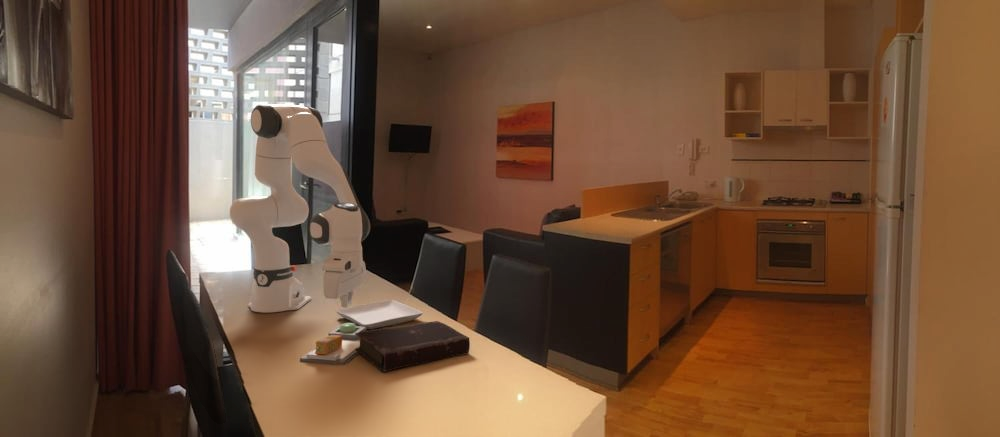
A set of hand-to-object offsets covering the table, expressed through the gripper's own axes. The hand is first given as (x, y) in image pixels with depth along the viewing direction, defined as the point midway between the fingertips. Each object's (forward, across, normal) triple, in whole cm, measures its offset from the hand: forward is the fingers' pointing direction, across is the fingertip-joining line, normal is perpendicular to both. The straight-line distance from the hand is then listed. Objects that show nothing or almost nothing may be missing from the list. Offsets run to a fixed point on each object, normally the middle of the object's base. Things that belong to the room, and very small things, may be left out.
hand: (346, 306), depth 159 cm
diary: (+8, +10, +24) cm, 27 cm away
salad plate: (+10, -18, +3) cm, 21 cm away
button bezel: (+9, 0, +1) cm, 9 cm away
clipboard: (+9, +14, +4) cm, 16 cm away
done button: (+8, 0, +1) cm, 9 cm away
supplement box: (+6, +12, +3) cm, 13 cm away
